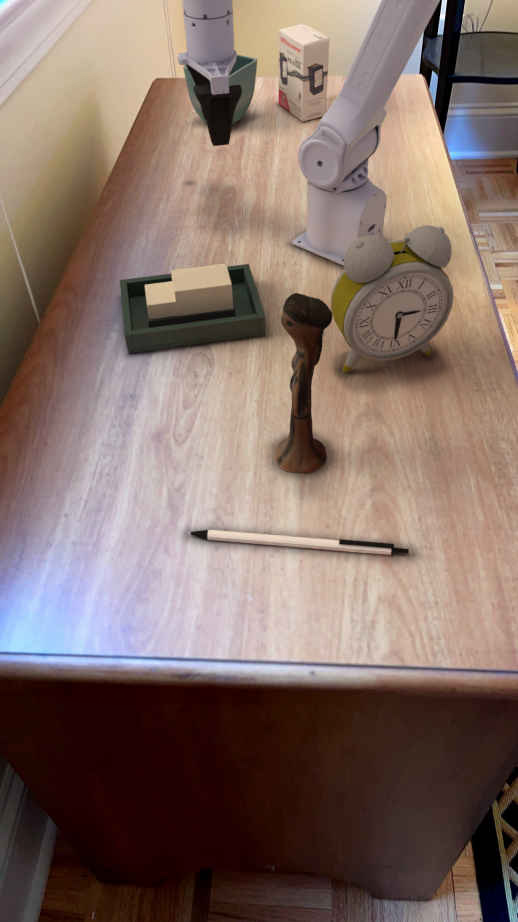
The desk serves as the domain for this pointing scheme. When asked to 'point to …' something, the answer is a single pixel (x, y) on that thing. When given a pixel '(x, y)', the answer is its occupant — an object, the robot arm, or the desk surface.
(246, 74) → the flower pot
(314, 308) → the figurine
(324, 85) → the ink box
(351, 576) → the desk surface
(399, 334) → the alarm clock
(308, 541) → the pen
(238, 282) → the dark green tray
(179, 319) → the beige wooden block
